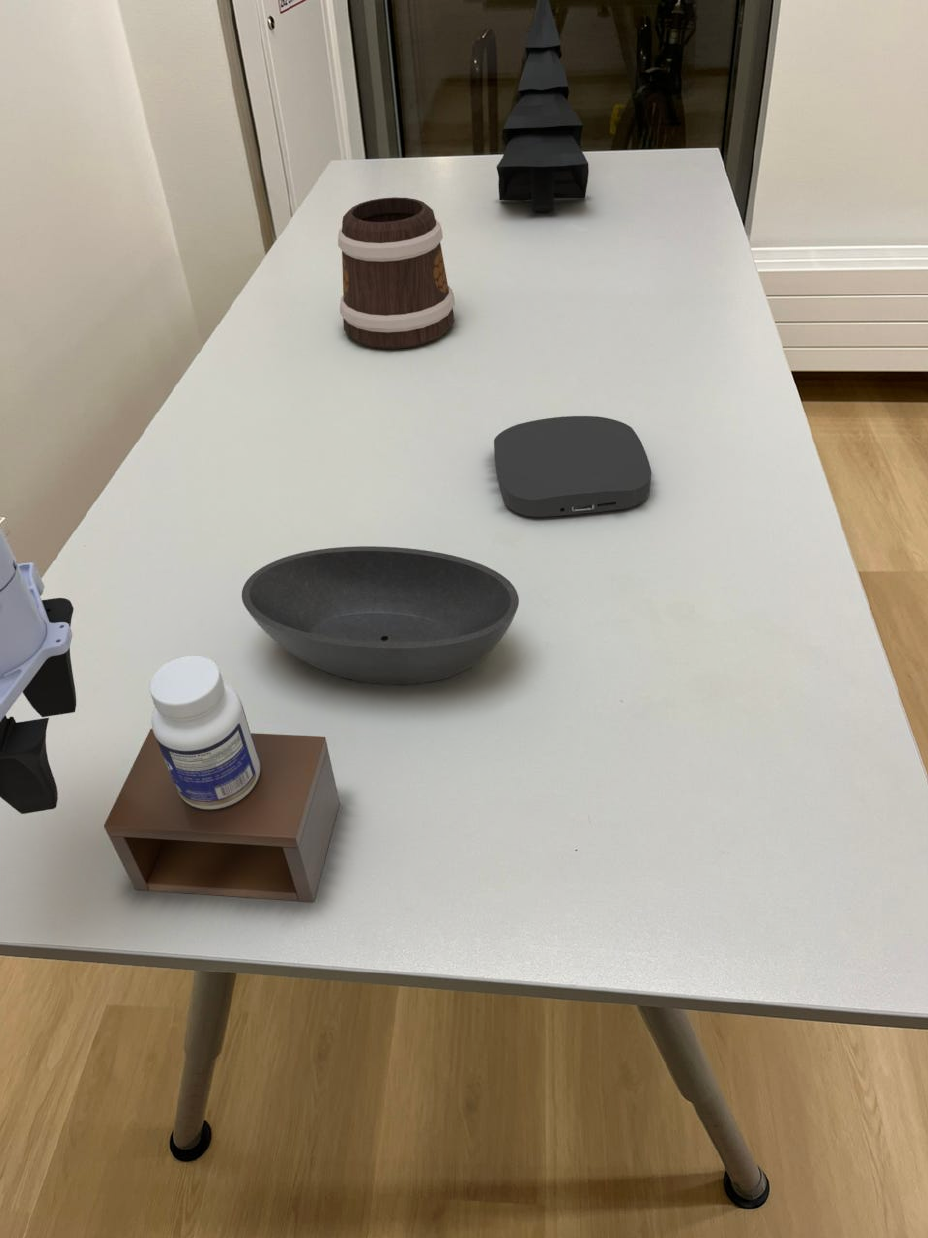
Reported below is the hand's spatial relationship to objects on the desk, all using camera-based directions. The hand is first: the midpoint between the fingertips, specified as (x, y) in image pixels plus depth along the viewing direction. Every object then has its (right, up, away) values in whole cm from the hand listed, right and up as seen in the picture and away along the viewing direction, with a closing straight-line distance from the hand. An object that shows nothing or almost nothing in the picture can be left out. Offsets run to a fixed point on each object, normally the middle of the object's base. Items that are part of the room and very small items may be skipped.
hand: (49, 756), depth 57 cm
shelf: (+10, -7, +7) cm, 14 cm away
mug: (+17, +48, +70) cm, 87 cm away
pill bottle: (+10, -2, +3) cm, 10 cm away
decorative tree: (+38, +79, +105) cm, 137 cm away
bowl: (+19, +5, +21) cm, 28 cm away
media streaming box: (+36, +23, +39) cm, 58 cm away
